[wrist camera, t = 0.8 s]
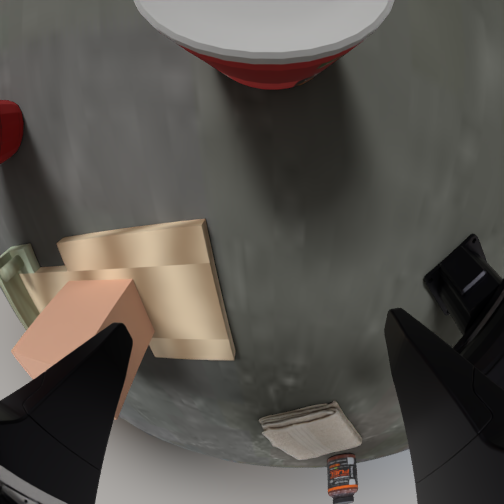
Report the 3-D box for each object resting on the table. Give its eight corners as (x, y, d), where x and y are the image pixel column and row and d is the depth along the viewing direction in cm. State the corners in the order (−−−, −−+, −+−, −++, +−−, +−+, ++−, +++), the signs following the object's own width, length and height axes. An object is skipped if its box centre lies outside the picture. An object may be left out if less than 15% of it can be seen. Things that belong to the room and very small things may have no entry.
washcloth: (334, 394, 30) (337, 414, 28) (363, 434, 37) (366, 449, 35) (253, 414, 34) (251, 433, 31) (301, 450, 41) (302, 464, 38)
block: (132, 278, 22) (73, 370, 13) (154, 331, 24) (116, 419, 16) (68, 280, 23) (10, 351, 14) (92, 327, 25) (49, 398, 17)
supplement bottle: (348, 450, 40) (352, 500, 31) (359, 455, 42) (363, 500, 32) (321, 458, 43) (322, 505, 33) (334, 462, 45) (336, 506, 35)
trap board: (205, 218, 20) (189, 245, 16) (235, 351, 26) (230, 384, 23) (11, 246, 23) (-11, 265, 19) (58, 337, 30) (44, 358, 26)
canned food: (318, 103, 15) (382, 97, 6) (195, 81, 15) (99, 57, 6) (339, 6, 12) (403, -76, 2) (219, -15, 11) (165, -106, 2)
